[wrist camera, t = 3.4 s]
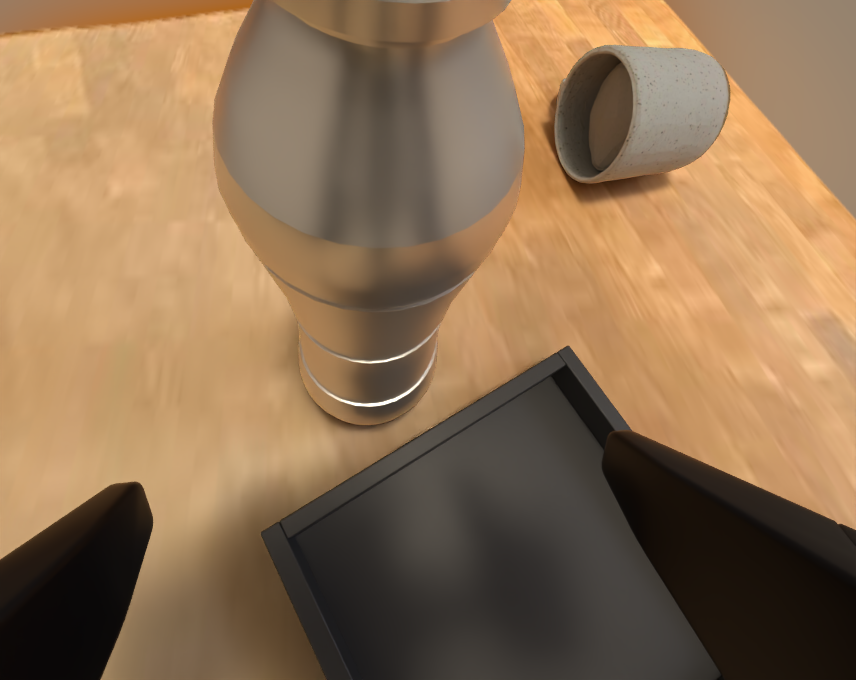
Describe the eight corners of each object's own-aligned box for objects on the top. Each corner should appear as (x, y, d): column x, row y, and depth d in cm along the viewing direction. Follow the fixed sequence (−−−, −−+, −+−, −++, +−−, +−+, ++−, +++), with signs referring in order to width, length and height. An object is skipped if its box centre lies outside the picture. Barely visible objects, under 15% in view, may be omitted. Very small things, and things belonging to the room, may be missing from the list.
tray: (475, 968, 15) (495, 1054, 12) (272, 529, 19) (259, 532, 17) (758, 650, 20) (810, 669, 17) (549, 360, 24) (569, 344, 22)
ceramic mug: (679, 191, 30) (773, 93, 23) (582, 209, 28) (653, 108, 21) (613, 90, 34) (678, -21, 27) (523, 99, 32) (568, -18, 25)
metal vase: (289, 421, 21) (-298, -274, 2) (325, 302, 23) (178, -461, 5) (417, 445, 21) (767, 15, 3) (437, 325, 24) (683, -298, 5)
